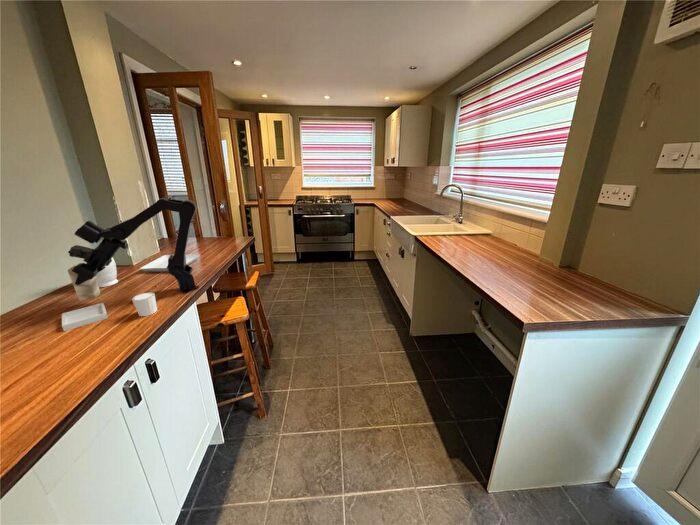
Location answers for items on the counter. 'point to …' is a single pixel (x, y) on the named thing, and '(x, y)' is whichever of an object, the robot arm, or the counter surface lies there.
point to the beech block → (84, 286)
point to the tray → (83, 316)
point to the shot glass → (145, 303)
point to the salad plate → (165, 263)
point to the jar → (107, 275)
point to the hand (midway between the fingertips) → (79, 281)
